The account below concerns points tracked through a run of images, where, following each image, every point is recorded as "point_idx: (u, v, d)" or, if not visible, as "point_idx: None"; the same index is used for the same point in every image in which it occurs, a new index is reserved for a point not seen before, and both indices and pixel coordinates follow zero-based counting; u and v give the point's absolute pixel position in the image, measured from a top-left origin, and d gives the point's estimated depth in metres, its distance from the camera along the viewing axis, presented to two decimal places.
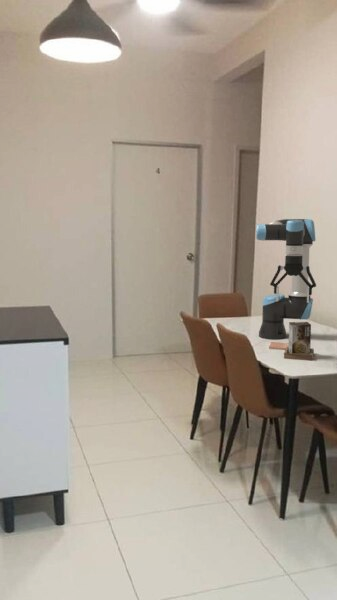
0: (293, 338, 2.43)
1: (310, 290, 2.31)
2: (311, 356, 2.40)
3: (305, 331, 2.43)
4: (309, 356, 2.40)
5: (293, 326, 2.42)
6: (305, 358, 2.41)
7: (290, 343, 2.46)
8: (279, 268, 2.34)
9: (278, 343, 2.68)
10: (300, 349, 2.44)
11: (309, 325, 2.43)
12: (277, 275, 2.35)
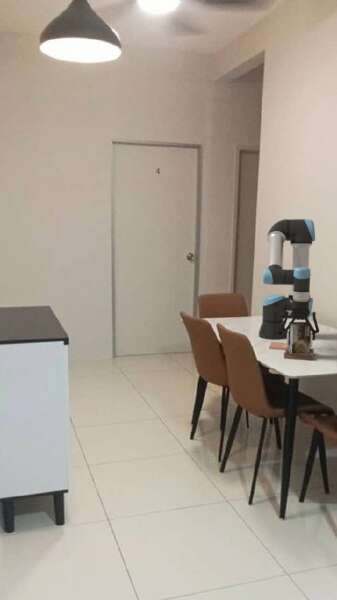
0: (293, 338, 2.43)
1: (313, 335, 2.44)
2: (311, 356, 2.40)
3: (305, 331, 2.43)
4: (309, 356, 2.40)
5: (293, 326, 2.42)
6: (305, 358, 2.41)
7: (290, 343, 2.46)
8: (287, 313, 2.45)
9: (278, 343, 2.68)
10: (300, 349, 2.44)
11: (309, 325, 2.43)
12: (286, 320, 2.46)
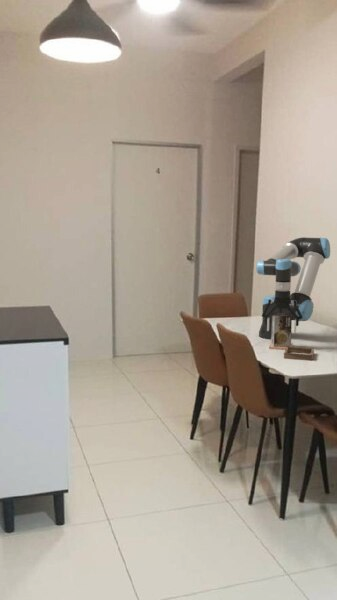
0: (275, 328, 2.60)
1: (297, 321, 2.60)
2: (311, 356, 2.40)
3: (286, 321, 2.60)
4: (309, 356, 2.40)
5: (275, 317, 2.59)
6: (305, 358, 2.41)
7: (272, 333, 2.63)
8: (269, 301, 2.62)
9: None
10: (281, 339, 2.61)
11: (290, 316, 2.59)
12: (268, 308, 2.63)
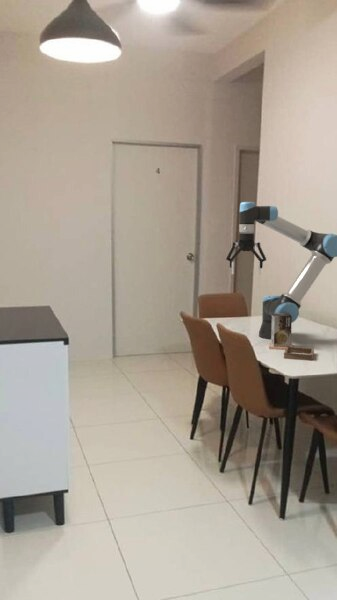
0: (275, 328, 2.60)
1: (261, 264, 2.62)
2: (311, 356, 2.40)
3: (286, 321, 2.60)
4: (309, 356, 2.40)
5: (275, 317, 2.59)
6: (305, 358, 2.41)
7: (272, 333, 2.63)
8: (234, 244, 2.64)
9: None
10: (281, 339, 2.61)
11: (290, 316, 2.60)
12: (232, 251, 2.65)
